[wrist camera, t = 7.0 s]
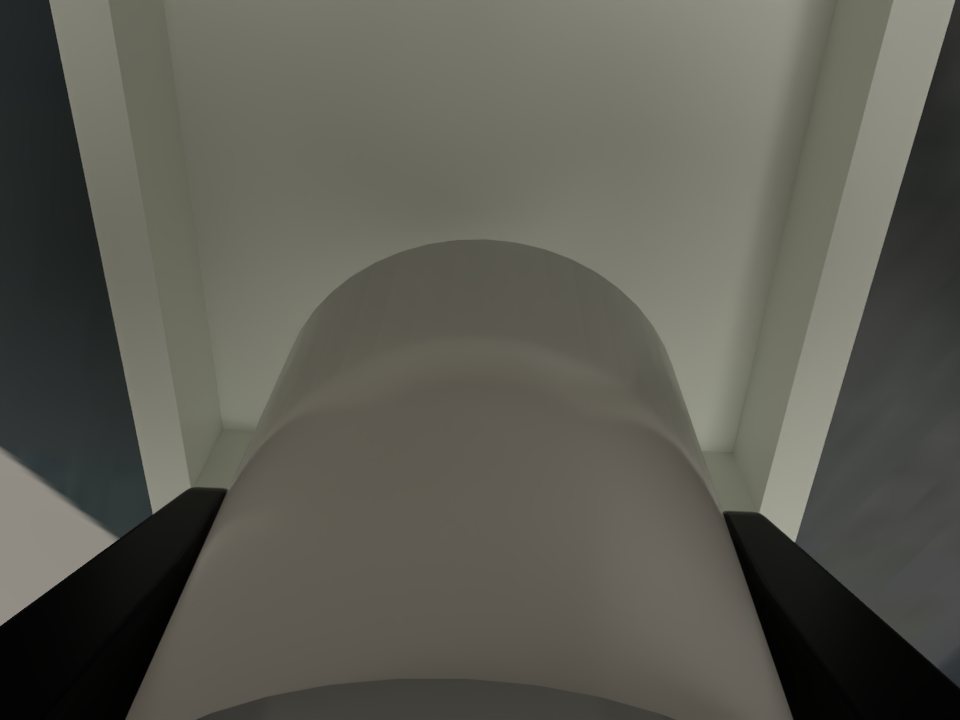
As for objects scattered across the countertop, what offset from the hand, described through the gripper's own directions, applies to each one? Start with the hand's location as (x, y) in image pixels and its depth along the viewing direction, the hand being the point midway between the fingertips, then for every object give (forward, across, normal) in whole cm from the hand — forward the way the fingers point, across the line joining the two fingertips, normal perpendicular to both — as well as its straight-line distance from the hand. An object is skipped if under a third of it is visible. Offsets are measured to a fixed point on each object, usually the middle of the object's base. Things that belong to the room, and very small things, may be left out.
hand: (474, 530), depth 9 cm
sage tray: (+12, 0, 0) cm, 12 cm away
